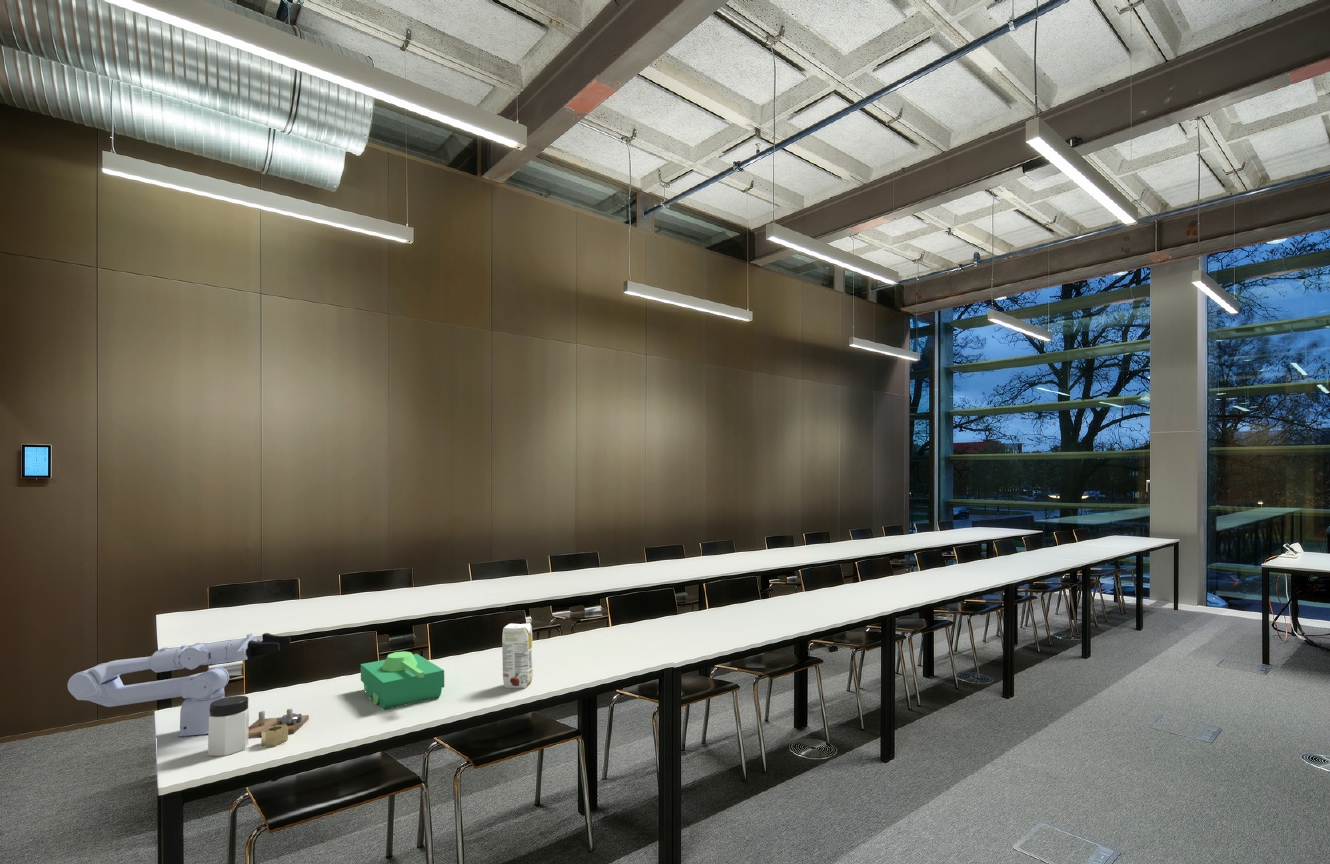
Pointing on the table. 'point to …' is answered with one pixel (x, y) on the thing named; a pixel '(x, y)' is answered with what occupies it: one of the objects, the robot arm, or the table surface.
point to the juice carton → (517, 655)
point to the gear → (289, 720)
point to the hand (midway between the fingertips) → (284, 643)
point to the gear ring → (274, 735)
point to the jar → (228, 726)
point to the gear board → (263, 723)
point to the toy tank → (401, 680)
